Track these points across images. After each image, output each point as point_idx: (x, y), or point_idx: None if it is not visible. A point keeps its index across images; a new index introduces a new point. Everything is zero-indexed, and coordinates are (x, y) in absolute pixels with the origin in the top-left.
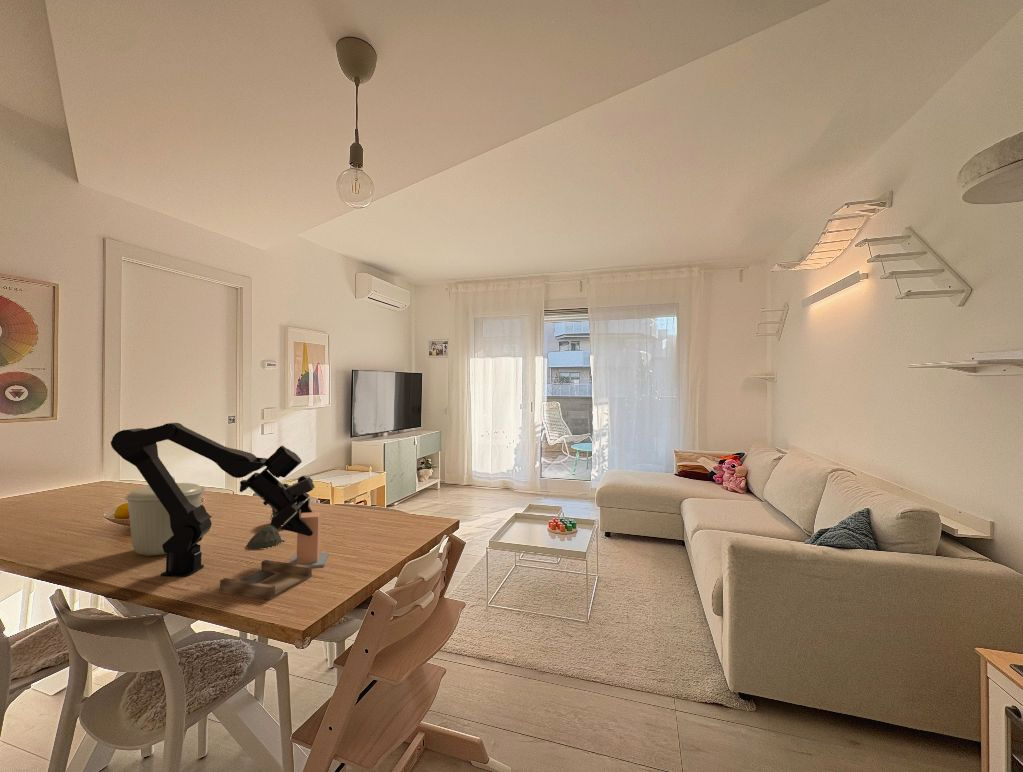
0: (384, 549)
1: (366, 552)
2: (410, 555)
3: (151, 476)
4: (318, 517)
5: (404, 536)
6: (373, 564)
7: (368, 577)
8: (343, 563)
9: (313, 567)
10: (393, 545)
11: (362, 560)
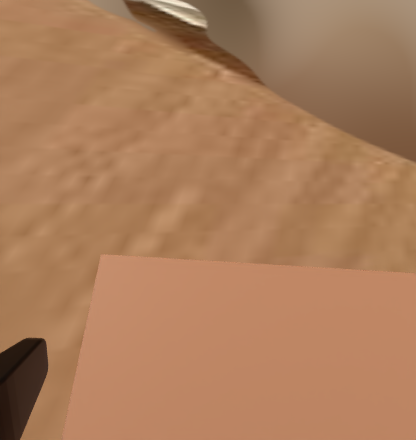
0: (141, 108)
1: (152, 158)
2: (222, 62)
3: None
4: (397, 278)
5: (24, 48)
6: (278, 145)
7: (380, 163)
8: (252, 232)
9: None
10: (110, 83)
11: (234, 172)
